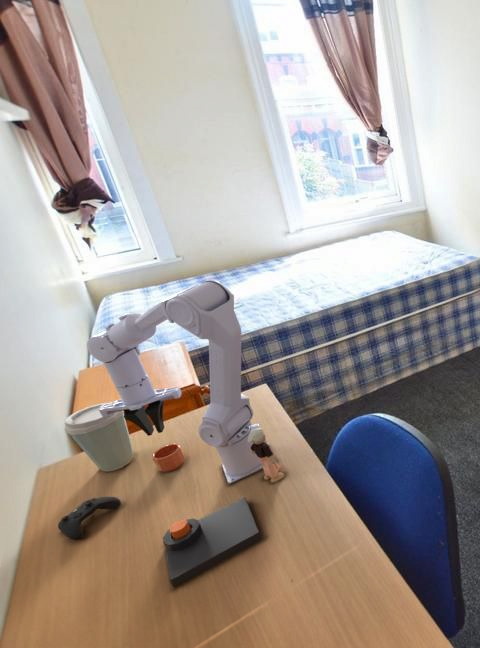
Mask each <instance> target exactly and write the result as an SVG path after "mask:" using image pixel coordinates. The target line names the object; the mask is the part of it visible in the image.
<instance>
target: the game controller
mask: <svg viewBox="0 0 480 648" xmlns="http://www.w3.org/2000/svg"><path fill="white" fill-rule="evenodd" d="M121 505H122V502H121V500H120V498H118V497H115V496H100V497H94V498H89V499H87V500H85V501H83V502H82V503H81V504H80V505H79V506H77V507H76V508H75V509H73V510H72V511H71V512H70V513H68V514H67V515H64V516H63V517H61V519H60V520H59V522H58V525H57V528H58V530H59V532H61V533H62V534H63V535H64V536H65V537H67V538H68V539H70V540H73V541H78V540H81V539H83V537H84V531H83V528H82V527H83V526H82V522H84V521H85V520H86V519H88V518H89V517H90V516H91V515H93V514H94V513H95V512H96V511H98V510H116V509H118V508H120V507H121Z"/></svg>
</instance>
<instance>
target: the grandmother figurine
mask: <svg viewBox="0 0 480 648" xmlns="http://www.w3.org/2000/svg"><path fill="white" fill-rule="evenodd" d="M266 438H267V437H266V434H265V433H264V430H263V428H262V427H261V428H255V429H254V430H252V431H251V433H250V434H249V437H248V442H249V443H251V442H253V444H252V446H251V450H252V454H256V455H257V456H258V457H259V459H260V461H261V464H262V467H263V468H262V470H263V472H264V476H263V479H264V480H266V481H267V480H270V482H271V483H275V482H278V481H279V480H282V479H283V478H284V477H285V474H284V473H283V472H282V471H281V472H280V466H279V464H278V462H277V459H276V458H275V456H274V453H273V451H272V449H271V447H269V446H270V444H269V443H268V442H267V443H268V444H269V445H268V444H267V443H265V442H264V441H265V439H266ZM270 449H271V450H270Z"/></svg>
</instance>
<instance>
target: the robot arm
mask: <svg viewBox="0 0 480 648" xmlns="http://www.w3.org/2000/svg"><path fill="white" fill-rule="evenodd" d="M238 319H239V318H238V317H237V314H236V312H235V295H234V294H233V293H232V292H231V291H230V290H229V289H228V288H227V287H226V286H225V285H224V284H223V283H221V282H220V281H218V280H215V279H207V280H204V281H202V282H201V283H200V284H196V285H193V286H190V287H187V288H186V289H183V290H181V291H178V292H176V293H174V294H172V295H169V296H168V297H166V298H163V299H161V300H160V301H159V302H157V303H156V304H154V305H153V306H152V307H150V308H149V309H147V311H145V312H144V313H142V312H134V313H133V312H132V313H129V312H126V313H125V314H123V315H120V316H119V317H118V320H119V321H118V322H115V324H114V323H111V324H109V325H107V326H106V327H105V330H104V331H102V332H100V333H98V334H97V335H93V336H90V337H89V339H88V340H87V341H86V348H87V351H88V353H89V354H90V355H91V357H92V358H94V359H95V360H96V361H99V362H101V363H103V365H104V367H105V370H106V371H107V373H108V375H109V377H110V379H111V381H112V383H113V385H114V387H115V389H116V391H117V393H118V395H119V396H120V397H119V398H120V399H117V400H115V401H110V402H111V403H109V402H107V403H108V404H105V405H102V406H101V407H100V409H99V411H100V413H101V415H102V417H105V416H108V415H109V414H112V413H116V412H120V411H124V412H123V413H124V418H125V420H126V421H129V422H130V423H131V424H134V425H136V426H137V427H138V428H139V429H141V430H142V431H143V432H144V433H145V434H146V435H147V436H148V437H149V436H152V435H153V433H154V431H155V430H156V432H157V433H158V434H161V433H163V432H164V430H165V423H164V404H165V401H167V400H172V399H175V400H176V399H180V398H181V397H182V394H183V393H182V391H181V388H180V386H175V387H167V388H166V387H165V388H157V389H156V388H154V386H153V384H152V381H151V380H150V377H149V376H148V373H147V371H146V369H145V367H144V365H143V363H142V360H141V358H140V355H141V352H140V348H139V346H140V344H142V343H144V342H146V341H147V340H149V339H151V338H152V337H153V336H154V335H155V334H156V332H157V326H159V325H160V324H162V323H164V322H166V321H168V322H169V323H171V324H174V323H175V324H176V325H178V326H179V327H181V328H182V329H184V330H186V331H187V332H189V333H191V335H193V336H195V337H196V338H198V339H200V340H207V341H208V353H209V354H208V358H209V359H208V362H209V363H208V364H209V396H210V397H209V398H210V400H209V401H210V402H209V404H208V406H207V408H206V410H205V412H204V413H203V414H202V417H201V418H202V422H201V423H200V425H199V427H198V435H199V437H200V439H201V440H202V441H203V442H204V443H205V444H207V445H208V446H211V447H215V448H216V451H217V453H218V456H219V458H220V460H221V462H222V465H221V467H222V470H223V473H224V475H225V478H226V481H227V483H228V485H231V484H234V483H236V482H237V481H239V480H241V479H244V478H246V477H248V476H250V475H252V474H254V473H256V472H258V471H261V470H263V467H262V464H261V461H260V459H259V457H258V456H257V455H256V454H252V450H251V446H252V444H253V442H251V443H249V442H248V437H249V434H250V433H251V431H252V430H254V429H255V428H261V429H262V427H261V426H260V424H259V422H258V423H255V424H252V421H251V420H252V419H253V416H254V411H253V410H254V409H253V408H252V405H251V403H250V397H248V396H246V395H245V394H243V393H242V328H241V325H240V322H239V320H238ZM146 405H147V406H146ZM152 422H153V424H152ZM153 425H154V426H153ZM154 428H155V429H154ZM264 442H265V443H267V444H268V445H269V447H270V444H269V442H267V439H266V438H265V441H264ZM270 450H271V451H272V449H271V447H270Z"/></svg>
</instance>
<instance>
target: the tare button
mask: <svg viewBox="0 0 480 648" xmlns="http://www.w3.org/2000/svg"><path fill="white" fill-rule="evenodd" d="M169 529H170V532H171V534H172V536H173V538H175V539H178V538H181V537H183V536H185V535H186V534H187V533H188V532H189V531H190V526H189V524H188V522H187V519H180V520H178V521H176V522H174V523H173V524H172V525H170V527H169Z"/></svg>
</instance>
